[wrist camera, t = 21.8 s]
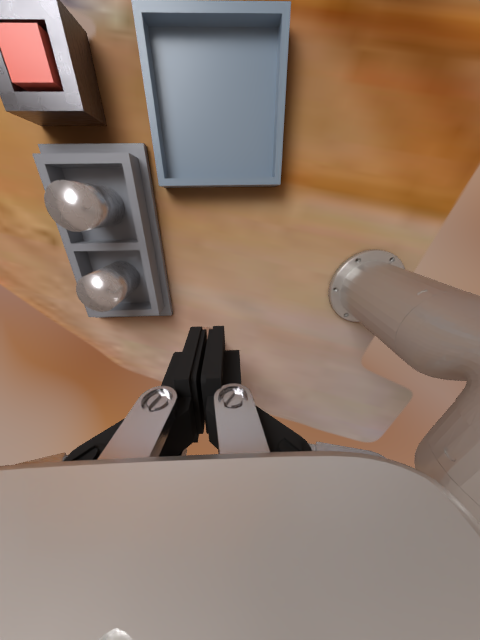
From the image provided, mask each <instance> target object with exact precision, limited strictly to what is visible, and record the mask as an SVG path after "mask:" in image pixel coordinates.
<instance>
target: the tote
mask: <svg viewBox="0 0 480 640" xmlns="http://www.w3.org/2000/svg"><path fill="white" fill-rule="evenodd" d="M131 1H132V8H133V14H134V21H135V28H136V34H137V41H138V48H139V55H140V61H141V68H142V75H143V81H144V88H145V95H146V102H147V108H148V115H149V122H150V128H151V135H152V142H153V149H154V155H155V162H156V169H157V175H158V182H159V186H161V187H164V188H181V187H261V186H278V185H280V184H281V166H282V149H283V131H284V114H285V96H286V78H287V61H288V43H289V26H290V8H291V1H198V0H131Z"/></svg>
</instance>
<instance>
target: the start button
mask: <svg viewBox="0 0 480 640" xmlns="http://www.w3.org/2000/svg"><path fill="white" fill-rule="evenodd" d="M0 48H1V51H2V54H3V57H4V60H5V63H6V66H7V69H8V71H9V74H10V77H11V80H12V83H14V84H16V85H18V86H19V87H21V88H23V89H25V90H26V91H28V92H64V90H63V86H62V82H61V79H60V75H59V71H58V67H57V64H56V60H55V56H54V52H53V49H52V45H51V41H50V37H49V34H48V33H47V32H46V31H45V30H44V29H43V28H42V27H41V26H40V25H38V24H37V23H0Z"/></svg>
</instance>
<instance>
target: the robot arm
mask: <svg viewBox="0 0 480 640" xmlns="http://www.w3.org/2000/svg"><path fill="white" fill-rule="evenodd" d="M356 259H357V260H356ZM355 260H356V261H355ZM334 288H335V289H334ZM329 301H330V304H331V306H332V308H333V309H334V311H335V312H336V313H337V314H338V315H339V316H340V317H342V318H344V319H346V320H349V321H353V322H361V323H362V324H363V325H364V326H365V327H366V328H368V329H369V330H370V331H371V332H372V333H373V334H374V335H375V336H377V337H378V338H379V339H380V340H381V341H382V342H383V343H384V344H386V345H387V346H388V347H389V348H390V349H391V350H392V351H393V352H395V353H396V354H397V355H398V356H399V357H400V358H401V359H403V360H404V361H405V362H406V363H407V364H408V365H410V366H411V367H412V368H414V369H415V370H417V371H419V372H420V373H423V374H425V375H428V376H431V377H435V378H440V379H446V380H458V381H459V380H460V381H467V384H466V386H465V388H464V389H463V391H462V392H461V394H460V395H459V396H458V397H457V398H456V401H455V402H454V403H453V404H452V405H451V406H450V408H449V409H448V410H447V411H446V412H445V413H444V415H443V416H442V417H441V418H440V419H439V420H438V421H437V422H436V424H435V425H434V426H433V427H432V428H431V429H430V431H429V432H428V433H427V434H426V436H425V437H424V438H423V440H422V441H421V442H420V443H419V445H418V447H417V450H416V453H415V468H416V469H414V468H412V467H410V466H407V465H405V464H402V463H399V462H396V461H393V460H390V459H387V458H385V457H383V456H382V455H380V454H378V453H375V452H372V451H367V450H362V449H356V448H350V447H344V446H339V445H333V444H327V443H321V442H316V445H314V444H308V443H307V441H306V440H305V439H303V438H302V437H301V436H299V435H298V434H297V433H295V432H294V431H292V430H291V429H289V428H288V427H286V426H285V425H283V424H282V423H280V422H279V421H277V420H276V419H275V418H273V417H272V416H270V415H269V414H267V413H266V412H264V411H263V410H261V409H260V408H258V407H257V406H255V403H254V400H253V397H252V394H251V392H250V390H249V389H248V388H247V387H245V386H243V385H241V372H240V355H239V350H229V351H225V336H224V326H213V329H209V332H208V338H207V331H206V329H202V327H191V328H190V331H189V334H188V337H187V340H186V343H185V346H184V349H183V352H175V353H174V354H173V356H172V359H171V362H170V364H169V367H168V369H167V372H166V374H165V377H164V380H163V382H162V385H161V386H158V387H154V388H151V389H149V390H147V391H146V392H144V393H143V394H142V395H141V396H140V397H139V399H138V400H137V402H136V403H135V405H134V406H133V408H132V409H131V411H130V412H129V413H128V415H127V417H126V418H125V419H123V420H121V421H120V422H118V423H116V424H115V425H114V426H111V427H110V428H108V429H107V430H105V431H103V432H102V433H100V434H98V435H97V436H95V437H93V438H92V439H90V440H89V441H87V442H85V443H84V444H82V445H80V446H79V447H77V448H76V449H75V450H73V451H72V452H71V453H70V454H69V455H66V453H61V454H57V455H52V456H48V457H44V458H40V459H35V460H31V461H27V462H23V463H19V464H15V465H5V466H0V640H480V296H478V295H475V294H472V293H470V292H466V291H463V290H460V289H458V288H455V287H452V286H449V285H447V284H444V283H441V282H438V281H435V280H433V279H430V278H427V277H424V276H422V275H419V274H416V273H413V272H410V271H408V270H405V268H404V265H403V263H402V262H401V260H400V259H399V258H398V257H397V256H395V255H394V254H392V253H390V252H387V251H383V250H367V251H363V252H360V253H358V254H355V255H354V256H352V257H350V258H349V259H347V260H346V261H345V262H344V263H343V264H342V265H341V266H340V267H339V268H338V269H337V271H336V272H335V274H334V276H333V278H332V280H331V282H330V286H329ZM204 424H206V432H207V434H208V433H209V441H210V442H211V443H212V444H213V445H214V446H215V447H216V448H217V449H218V452H219V454H214V455H213V454H212V455H188V456H186V453H187V449H186V448H187V447H188V446H189V445H190V444H192V443H193V442H198V436H199V434H203V432H204Z"/></svg>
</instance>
